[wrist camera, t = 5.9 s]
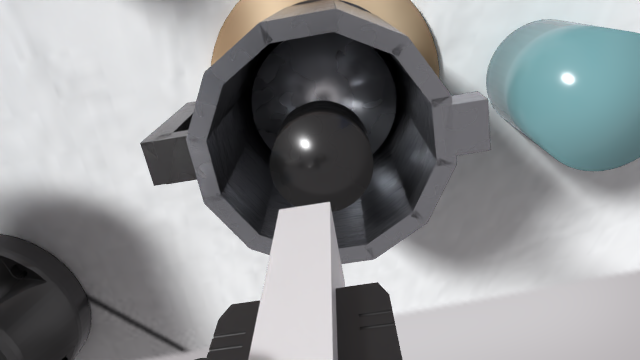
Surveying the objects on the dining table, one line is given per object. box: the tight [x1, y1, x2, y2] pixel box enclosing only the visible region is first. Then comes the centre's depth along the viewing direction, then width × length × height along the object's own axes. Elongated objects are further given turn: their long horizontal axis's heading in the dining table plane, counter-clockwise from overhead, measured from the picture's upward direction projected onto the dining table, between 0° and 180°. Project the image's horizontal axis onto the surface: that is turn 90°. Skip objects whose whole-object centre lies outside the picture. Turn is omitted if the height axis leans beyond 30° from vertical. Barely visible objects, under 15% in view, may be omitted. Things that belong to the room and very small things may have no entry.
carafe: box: [140, 0, 490, 264], centre depth 30 cm, size 17×12×15 cm
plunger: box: [252, 32, 396, 212], centre depth 26 cm, size 9×9×12 cm
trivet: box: [211, 0, 439, 78], centre depth 37 cm, size 17×17×1 cm
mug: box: [486, 19, 640, 171], centre depth 32 cm, size 10×8×10 cm
